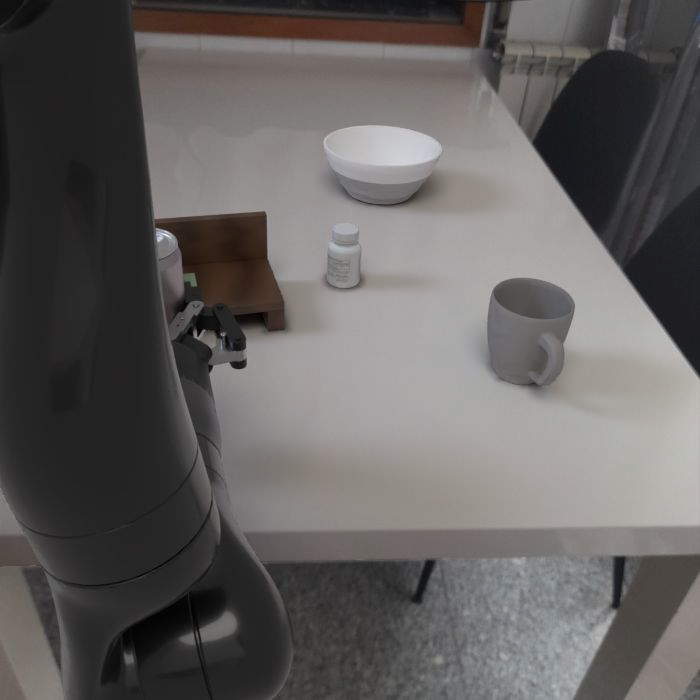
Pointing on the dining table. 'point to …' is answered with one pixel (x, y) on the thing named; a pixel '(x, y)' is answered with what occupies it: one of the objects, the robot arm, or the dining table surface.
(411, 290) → the dining table surface
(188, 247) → the wooden stand
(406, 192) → the bowl
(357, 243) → the pill bottle
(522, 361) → the mug
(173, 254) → the beverage can
